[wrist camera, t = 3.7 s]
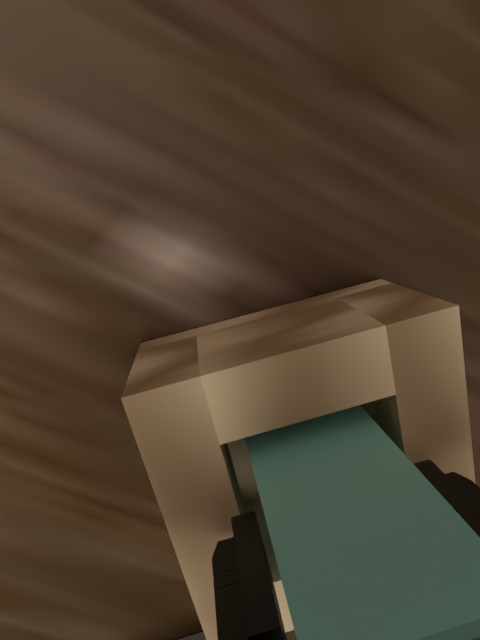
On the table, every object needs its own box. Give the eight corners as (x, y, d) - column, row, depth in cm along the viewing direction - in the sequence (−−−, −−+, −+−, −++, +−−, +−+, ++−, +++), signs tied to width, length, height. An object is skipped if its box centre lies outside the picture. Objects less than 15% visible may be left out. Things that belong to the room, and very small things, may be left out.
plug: (331, 373, 16) (581, 649, 6) (347, 457, 17) (582, 815, 7) (234, 400, 16) (322, 736, 6) (257, 484, 17) (365, 893, 7)
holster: (380, 278, 17) (458, 305, 12) (409, 481, 19) (483, 569, 15) (140, 343, 16) (120, 397, 11) (205, 542, 19) (211, 655, 14)
